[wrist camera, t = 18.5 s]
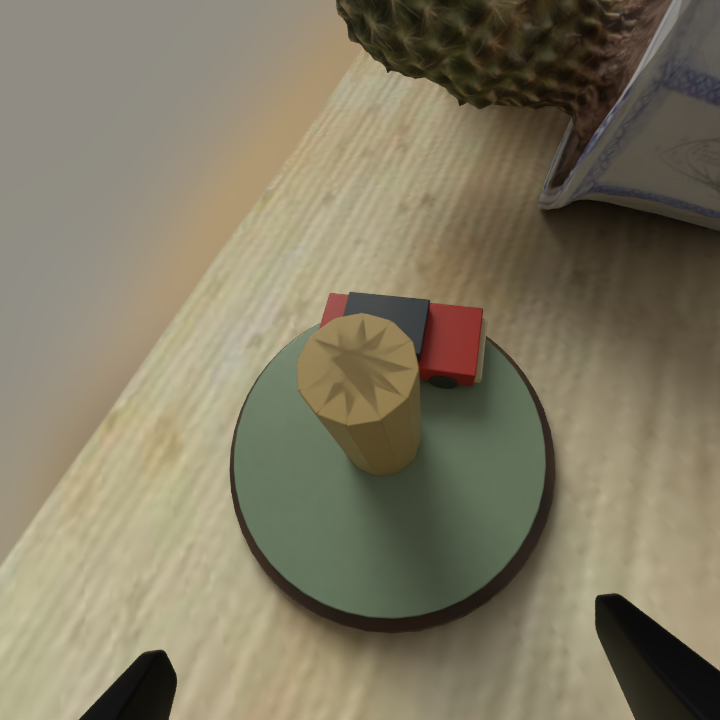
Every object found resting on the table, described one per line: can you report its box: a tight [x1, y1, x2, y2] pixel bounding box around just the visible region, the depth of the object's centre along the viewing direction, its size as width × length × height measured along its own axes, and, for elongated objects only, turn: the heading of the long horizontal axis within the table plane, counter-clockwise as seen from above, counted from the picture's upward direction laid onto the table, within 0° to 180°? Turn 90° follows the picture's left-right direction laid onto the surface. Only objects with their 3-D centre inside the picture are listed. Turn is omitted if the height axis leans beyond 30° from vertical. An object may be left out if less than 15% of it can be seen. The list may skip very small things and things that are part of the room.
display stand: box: [230, 326, 555, 633], centre depth 23 cm, size 18×18×1 cm
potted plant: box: [336, 0, 720, 232], centre depth 23 cm, size 18×18×30 cm
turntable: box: [234, 292, 546, 619], centre depth 18 cm, size 17×17×10 cm
